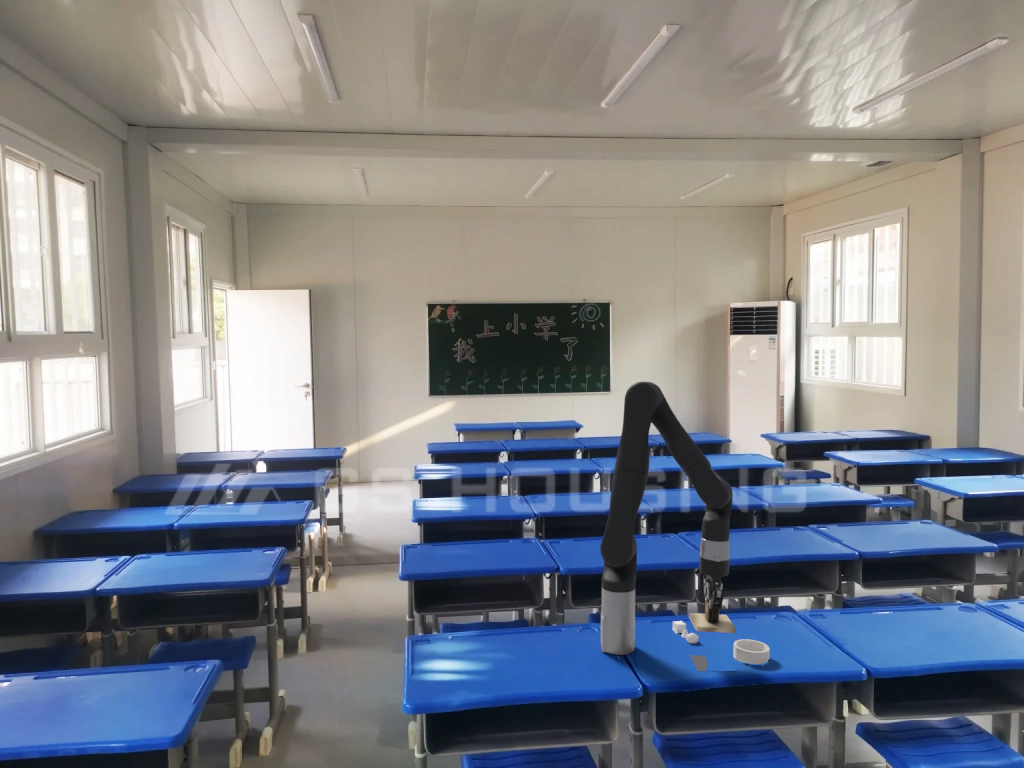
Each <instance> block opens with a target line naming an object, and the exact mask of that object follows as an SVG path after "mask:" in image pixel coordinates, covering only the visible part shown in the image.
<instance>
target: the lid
mask: <svg viewBox="0 0 1024 768" xmlns="http://www.w3.org/2000/svg"><path fill="white" fill-rule="evenodd" d="M715 604H717V603H715ZM704 608H705V609H704V613H698V612H697V613H696V612H689V613H688V619H689V620H690V622H691V624H692V626H693V629H695V631H696V632H705V633H706V632H707V633H724V634H727V633H728V634H736V633H737V628H736V626H735V625H734V623H733V622H732V621H731V620H730V618H729V617H728V615H727V614H720V610H721V609H718V623H710V622H709V602H705V607H704Z"/></svg>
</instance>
